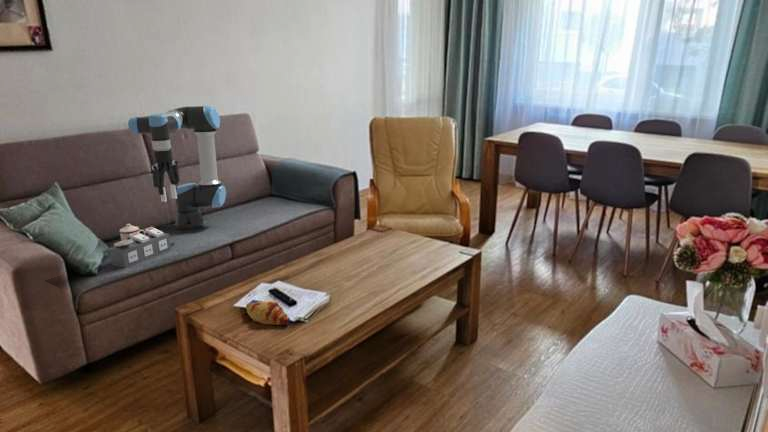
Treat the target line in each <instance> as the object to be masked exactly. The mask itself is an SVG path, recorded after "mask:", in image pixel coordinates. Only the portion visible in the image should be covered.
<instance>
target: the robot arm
mask: <svg viewBox="0 0 768 432" xmlns="http://www.w3.org/2000/svg"><path fill="white" fill-rule="evenodd" d="M127 125H128V130H129V132H130V133H131V134H137V135H142V134H143V135H144V134H150V136H151V144H152V149H153V157H154V159H155V164H153V165H150V170H151V173H152V183H153V187H154V188H157V189H158V193H159V194H158V195H159V196H160V200H161V202H162V203H163V202H164V203H166V202H167V201H168V200H167V193H166V187H164V183H165V181H164V180H165V173H166V174H167V176H168V179H169V181H170V184H169V188H170V194H171V199H175V203H176V204H175V206H176V211H177V214H176V219H175V228H176V229H178V230H192V229H197V228H200V227H201V228H202V227H203V226H204V225H205V223H206V221H205V219H204V216H203V214H202V212H201V211H200V208H213V209H214V208H220V207H222V206H223V205H224V204H225V202H226V199H227V189H226V186H224V185H222V181H221V180H219V177H218V165H217V164H218V163H217V155H216V154H217V153H216V145H215V144H216V143H215V134H217V129H219V128H220V126H221V118H220V115H219V112H218V111H217V109H216V108H215V107H214V106H208V105H204V106H203V105H202V106H183V107H178V108H174V109H169V110H167V111H166V112H164V113H156V114H150V115H146V116H140V117H139V116H135V117H130V118H129V119H128V122H127ZM181 129H184V130H185V129H187V130H193V133H194V134H195V135H196V136H197V148H198V150H197V151H198V159H199V167H200V181H199V182H198V184H197V183H195V182H190V183H184V184H180V185H179V183H180V180H181V179H180V176H179V175H180V174H179V168H178V162H179V161H178V160H173V159H172V158H173V152H172V151H173V150H172V145H171V137H170V134H175V133H177V132H178V131H179V130H181ZM177 185H178V186H177Z"/></svg>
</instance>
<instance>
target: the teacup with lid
mask: <svg viewBox="0 0 768 432" xmlns="http://www.w3.org/2000/svg"><path fill="white" fill-rule="evenodd" d="M118 232H119V235H120V241H125V240H131V239H133V238H131V237H130V234H132V233H135V232H138V233H140V232H143V233H142V234H143V235H146V232H145V229H140V228H139V226H137V225H136V226H134V225H132V224H131V223H126V225H125V226H124V227H122V228H120V229H119V230H118ZM133 240H134V239H133Z"/></svg>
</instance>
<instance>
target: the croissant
mask: <svg viewBox="0 0 768 432" xmlns="http://www.w3.org/2000/svg"><path fill="white" fill-rule="evenodd" d="M245 309H246V311H247V314H248V315H249V317H250V318H251V319H252V321H253V322H257V323H260V324H262V325H275V326H283V325H285V324H288V323H290V320H291V319H290V317H289V316H288V314H287V313H286V312H285V311H284V310H283V307H282V306H280V305H279V303H278V302H277V301H276V300H268V301H257V302H255V301H254V302H248V303H247V304H246V305H245Z"/></svg>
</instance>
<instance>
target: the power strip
mask: <svg viewBox="0 0 768 432" xmlns="http://www.w3.org/2000/svg"><path fill="white" fill-rule="evenodd" d="M145 236H147V237H149V241H146V242H143V243H141V242H139V241H137V240H135V239H134V240H133V243H130V244H127V245H122V246H116V247H115V246H112V247H109V248H108V251H109V257H110V263H111V266H114V267H119V268H122V269H127V268H129V267H132V266H134V265H137V264H139V263H142V262H144V261H147V260H149V259H152V258H154V257H156V256H159V255H163V254H164V253H166V252H169V251H171V250H172V246H175V245H176V243H175V242H174V241H173V242H171V237H170V234H169V233H164V235H162V236H160V237H155V236H153V235H151V234H149V233H147V234H145Z"/></svg>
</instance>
